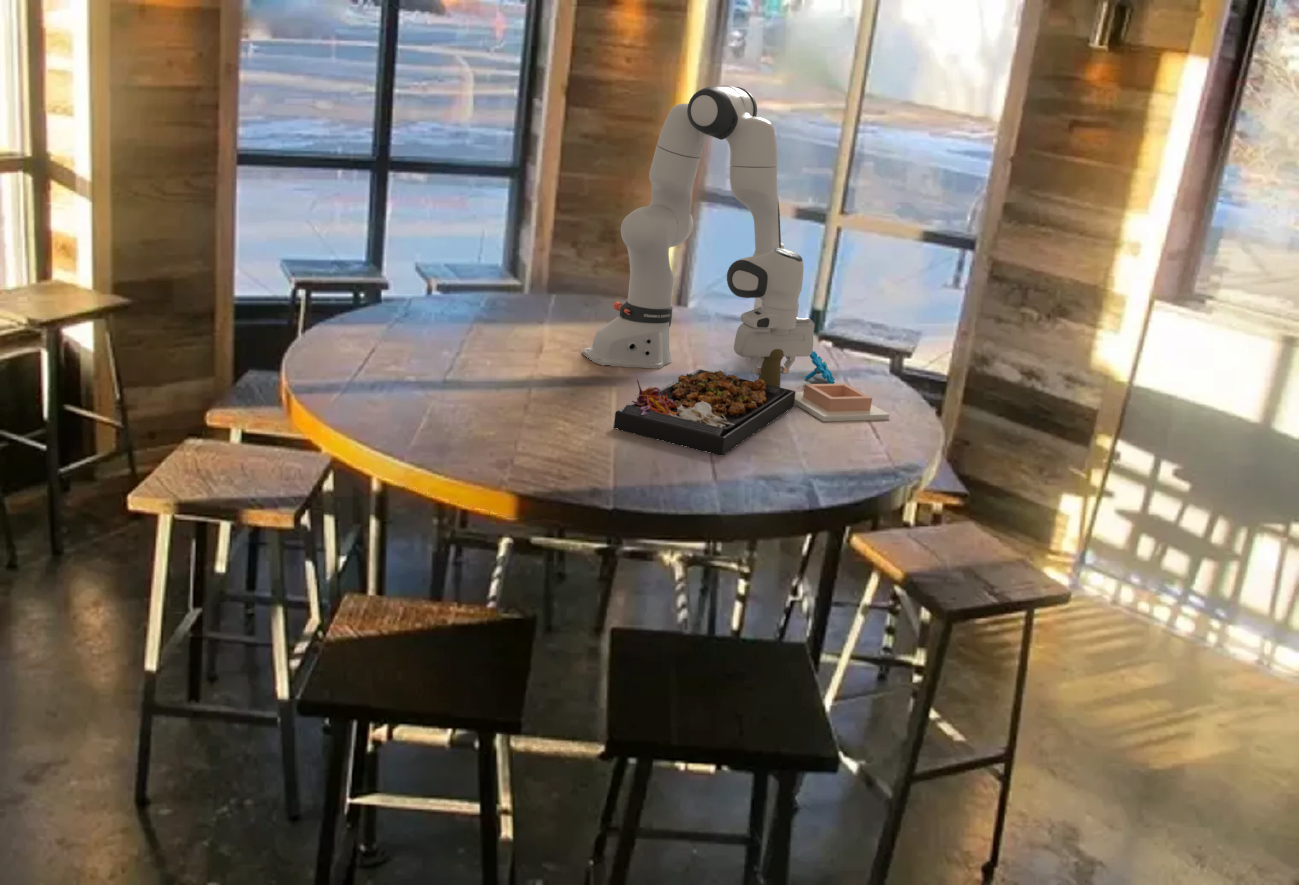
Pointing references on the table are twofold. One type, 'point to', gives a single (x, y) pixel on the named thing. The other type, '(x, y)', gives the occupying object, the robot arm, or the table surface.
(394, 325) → the table surface
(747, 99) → the robot arm
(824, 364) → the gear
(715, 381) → the food platter
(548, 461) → the table surface
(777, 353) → the cork
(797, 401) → the holder
